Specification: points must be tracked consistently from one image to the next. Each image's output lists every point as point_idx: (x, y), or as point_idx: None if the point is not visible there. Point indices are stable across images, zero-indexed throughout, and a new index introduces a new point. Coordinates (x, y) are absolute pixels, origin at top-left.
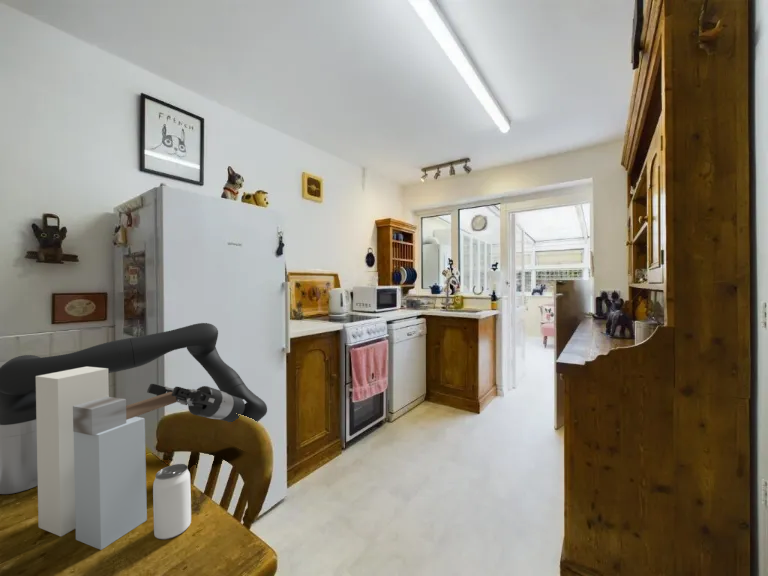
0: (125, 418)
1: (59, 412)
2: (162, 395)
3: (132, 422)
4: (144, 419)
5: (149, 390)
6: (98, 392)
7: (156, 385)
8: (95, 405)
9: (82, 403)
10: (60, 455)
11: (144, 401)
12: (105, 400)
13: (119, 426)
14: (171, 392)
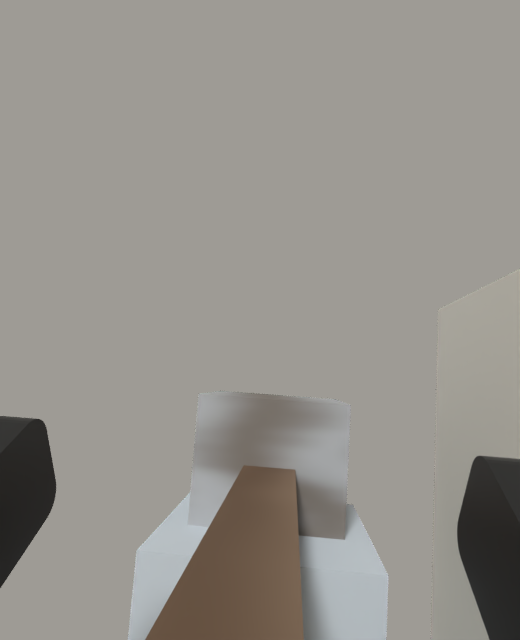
0: (190, 495)
1: (436, 444)
2: (248, 566)
3: (161, 528)
4: (136, 557)
5: (459, 519)
6: (495, 413)
7: (500, 502)
8: (255, 394)
9: (464, 443)
10: (432, 634)
11: (255, 503)
12: (285, 398)
13: (186, 513)
14: (239, 636)
